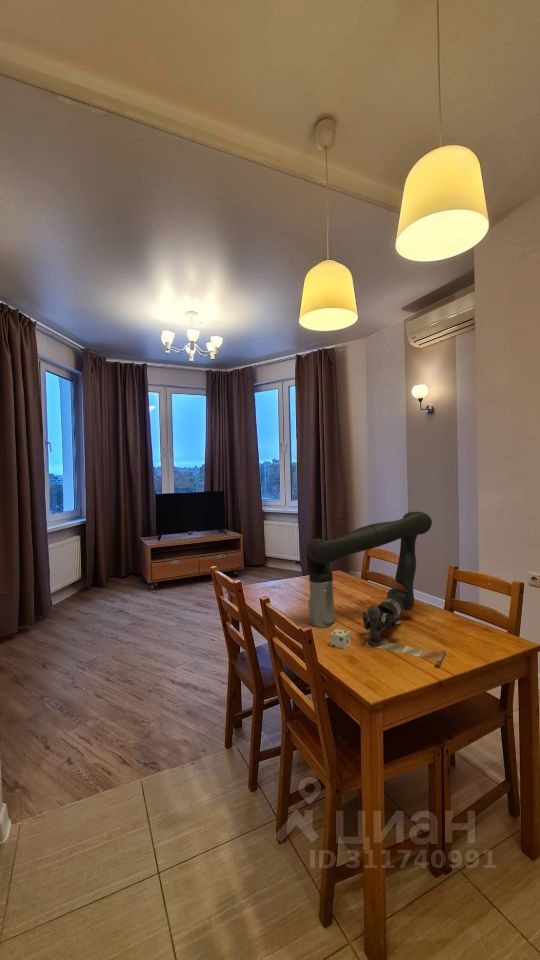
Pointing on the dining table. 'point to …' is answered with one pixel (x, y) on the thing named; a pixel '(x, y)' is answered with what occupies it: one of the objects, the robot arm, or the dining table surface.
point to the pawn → (374, 626)
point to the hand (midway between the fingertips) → (371, 627)
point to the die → (340, 638)
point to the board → (414, 652)
